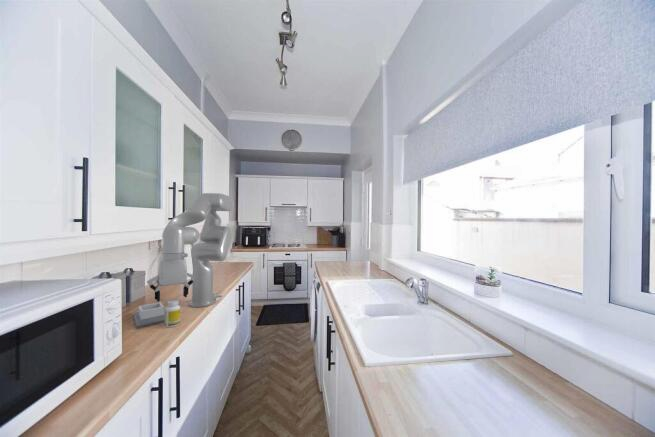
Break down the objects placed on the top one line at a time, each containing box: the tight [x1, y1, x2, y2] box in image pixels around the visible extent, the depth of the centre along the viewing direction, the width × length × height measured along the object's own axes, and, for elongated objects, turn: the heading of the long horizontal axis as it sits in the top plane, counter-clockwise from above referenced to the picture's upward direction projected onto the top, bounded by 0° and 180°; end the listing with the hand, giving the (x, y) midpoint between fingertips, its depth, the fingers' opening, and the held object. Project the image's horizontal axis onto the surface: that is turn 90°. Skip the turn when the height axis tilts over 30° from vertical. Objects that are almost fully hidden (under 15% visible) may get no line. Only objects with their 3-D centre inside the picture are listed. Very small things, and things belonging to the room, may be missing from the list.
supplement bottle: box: [164, 299, 181, 328], centre depth 104 cm, size 5×5×10 cm
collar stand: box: [132, 301, 166, 329], centre depth 110 cm, size 12×18×4 cm, turn 42°
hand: (171, 298), depth 103 cm, fingers open, 9 cm apart
